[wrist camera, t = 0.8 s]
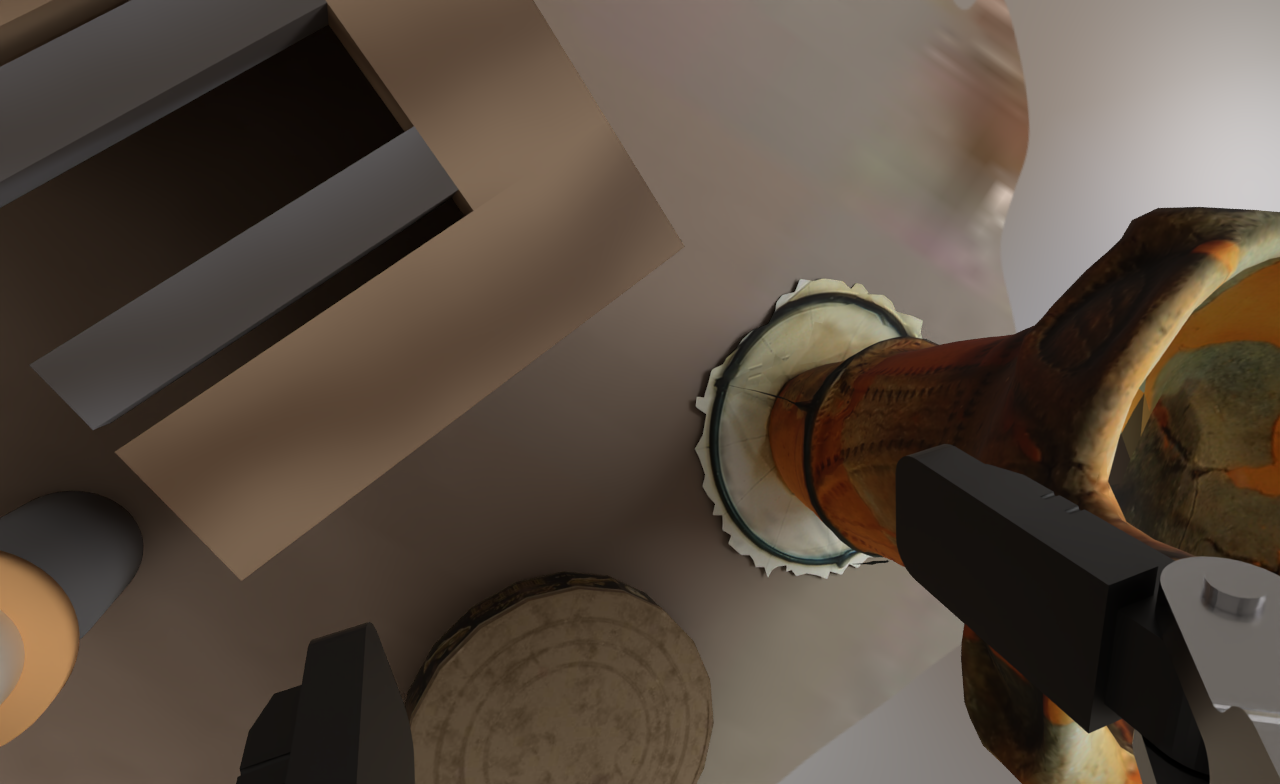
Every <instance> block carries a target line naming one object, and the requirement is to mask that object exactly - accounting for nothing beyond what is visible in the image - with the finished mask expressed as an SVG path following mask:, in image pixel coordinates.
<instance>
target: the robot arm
mask: <svg viewBox="0 0 1280 784" xmlns="http://www.w3.org/2000/svg"><path fill="white" fill-rule="evenodd" d="M895 481H896V543H897V548H898V552H899V555H900V558H901V560H902V562H903V564H904V566H905V567H906V569H907V571H908V572H909V573H910V575H911V576H912V577H913V578H914V579H915V580H916V581H917V582H918V583H920V584H921V585H922V586H923V587H924V588H925V589H926V590H927V591H929V592H930V593H931V594H932V595H933V596H934V597H935V598H936V599H938V600H939V601H940V602H941V603H942V604H943V605H944V606H945V607H947V608H948V609H949V610H950V611H951V612H952V613H953V614H954V615H956V616H957V617H958V618H959V619H960V620H961V621H962V622H963V623H965V624H966V625H967V626H968V627H969V628H970V629H971V630H972V631H974V632H975V633H976V634H977V635H978V636H979V637H980V638H981V639H983V640H984V641H985V642H986V643H987V644H988V645H989V646H990V647H992V648H993V649H994V650H995V651H996V652H997V653H998V654H999V655H1001V656H1002V657H1003V658H1004V659H1005V660H1006V661H1007V662H1008V663H1010V664H1011V665H1012V666H1013V667H1014V668H1015V669H1016V670H1017V671H1019V672H1020V673H1021V674H1022V675H1023V676H1024V677H1025V678H1026V679H1028V680H1029V681H1030V682H1031V683H1032V684H1033V685H1034V686H1035V687H1037V688H1038V689H1039V690H1040V691H1041V692H1042V693H1043V694H1044V695H1046V696H1047V697H1048V698H1049V699H1050V700H1051V701H1052V702H1053V703H1055V704H1056V705H1057V706H1058V707H1059V708H1060V709H1061V710H1062V711H1064V712H1065V713H1066V714H1067V715H1068V716H1069V717H1070V718H1071V719H1073V720H1074V721H1075V722H1076V723H1077V724H1078V725H1079V726H1080V727H1082V728H1083V729H1084V730H1085V731H1086V732H1087V733H1088V734H1089V733H1091V732H1094V731H1096V730H1098V729H1100V728H1103V727H1105V726H1107V725H1109V724H1112V723H1114V722H1116V721H1118V720H1121V719H1123V720H1125V721H1126V722H1127V723H1128V724H1129V725H1131V726H1132V727H1133V728H1134V734H1133V741H1132V748H1133V753H1134V757H1135V760H1136V763H1137V767H1138V770H1139V774H1140V777H1141V780H1142V784H1280V576H1278V575H1277V574H1275V573H1272V572H1270V571H1268V570H1266V569H1263V568H1260V567H1258V566H1255V565H1252V564H1249V563H1245V562H1241V561H1237V560H1232V559H1227V558H1219V557H1202V556H1201V557H1189V558H1184V559H1180V560H1177V561H1175V560H1173V559H1171V558H1169V557H1168V556H1166V555H1164V554H1162V553H1161V552H1159V551H1157V550H1155V549H1154V548H1152V547H1150V546H1148V545H1146V544H1145V543H1143V542H1141V541H1139V540H1138V539H1136V538H1134V537H1132V536H1131V535H1129V534H1127V533H1125V532H1124V531H1122V530H1120V529H1118V528H1117V527H1115V526H1113V525H1111V524H1109V523H1108V522H1106V521H1104V520H1102V519H1101V518H1099V517H1097V516H1095V515H1094V514H1092V513H1090V512H1088V511H1087V510H1085V509H1084V510H1082V511H1081V510H1080V509H1079V507H1078V505H1076V504H1074V503H1072V502H1071V501H1069V500H1067V499H1065V498H1064V497H1062V496H1060V495H1058V496H1055V495H1054V492H1053V491H1051V490H1050V489H1048V488H1046V487H1044V486H1043V485H1041V484H1039V483H1037V482H1036V481H1034V480H1032V479H1030V478H1028V477H1027V476H1025V475H1023V474H1019V473H1016V472H1013V471H1009V470H1006V469H1003V468H999V467H996V466H992V465H989V464H984V463H982V462H980V461H979V460H977V459H975V458H974V457H972V456H970V455H969V454H967V453H965V452H963V451H962V450H960V449H958V448H957V447H955V446H953V445H950V444H942V445H939V446H936V447H933V448H930V449H926V450H923V451H920V452H917V453H914V454H910V455H907V456H904V457H902V458H900V460H899V461H898V463H897V465H896V473H895ZM240 772H241V776H239V777H238V778H237V783H236V784H415V767H414V748H413V740H412V734H411V729H410V724H409V720H408V716H407V712H406V709H405V706H404V703H403V700H402V698H401V695H400V692H399V690H398V687H397V684H396V682H395V679H394V676H393V674H392V671H391V668H390V666H389V663H388V660H387V658H386V655H385V652H384V650H383V647H382V644H381V642H380V639H379V636H378V634H377V631H376V629H375V627H374V626H373V624H372V623H371V622H368V623H365V624H361V625H358V626H355V627H352V628H349V629H345V630H342V631H339V632H336V633H333V634H329V635H326V636H323V637H320V638H317V639H313V640H311V641H310V643H309V646H308V651H307V657H306V663H305V669H304V675H303V681H302V685H300V686H297V687H294V688H291V689H288V690H285V691H282V692H279V693H275V694H274V695H273V696H272V698H271V699H270V701H269V702H268V704H267V705H266V707H265V708H264V710H263V711H262V713H261V714H260V716H259V717H258V719H257V720H256V722H255V723H254V725H253V726H252V727H251V729H250V730H249V733H248V737H247V741H246V745H245V749H244V754H243V758H242V762H241V766H240Z"/></svg>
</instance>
